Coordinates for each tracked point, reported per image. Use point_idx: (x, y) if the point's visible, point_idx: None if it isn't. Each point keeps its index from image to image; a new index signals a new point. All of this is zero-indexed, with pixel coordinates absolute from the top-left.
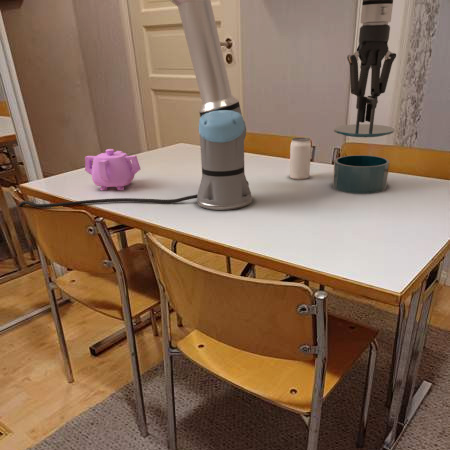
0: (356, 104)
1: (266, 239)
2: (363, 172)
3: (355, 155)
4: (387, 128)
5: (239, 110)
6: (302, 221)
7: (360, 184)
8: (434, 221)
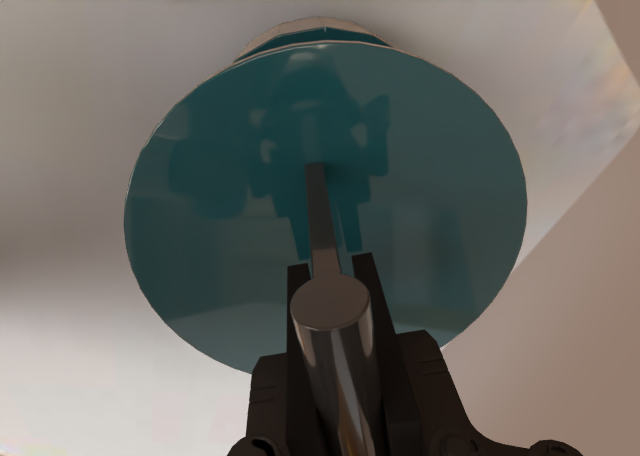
0: (250, 392)
1: (51, 436)
2: None
3: (333, 38)
4: (472, 272)
5: None
6: (113, 378)
7: None
8: None
